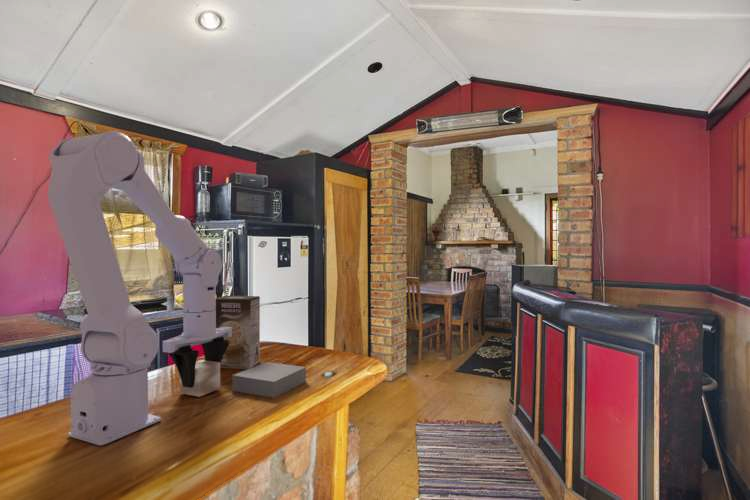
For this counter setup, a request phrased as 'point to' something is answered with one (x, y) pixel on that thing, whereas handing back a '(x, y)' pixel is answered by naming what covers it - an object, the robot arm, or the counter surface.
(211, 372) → the cube
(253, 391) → the base
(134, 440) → the counter surface
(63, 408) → the counter surface
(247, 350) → the coffee box
